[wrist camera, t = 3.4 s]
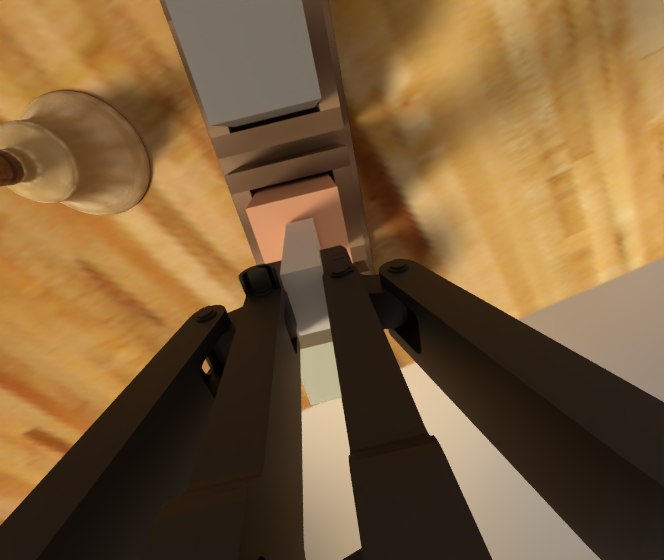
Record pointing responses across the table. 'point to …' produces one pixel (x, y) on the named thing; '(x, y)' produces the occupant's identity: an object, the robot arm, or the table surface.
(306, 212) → the terracotta button
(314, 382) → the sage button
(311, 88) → the grey square block
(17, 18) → the table surface
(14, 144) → the hand bell
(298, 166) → the wooden base
